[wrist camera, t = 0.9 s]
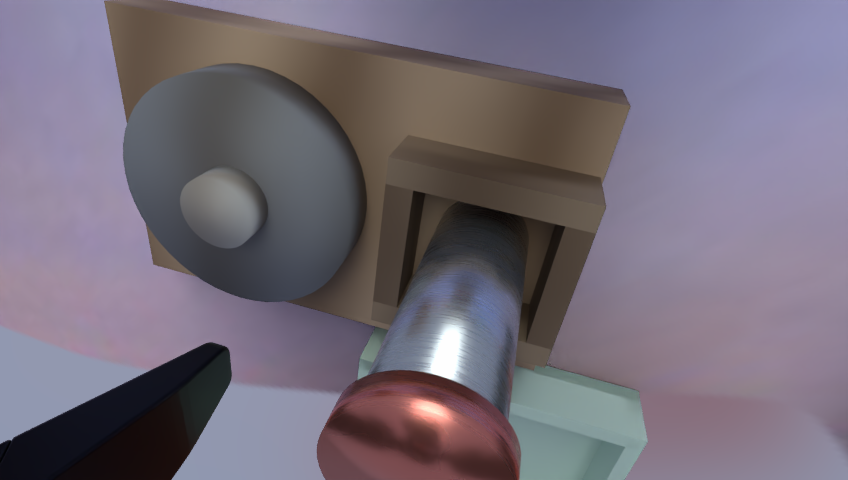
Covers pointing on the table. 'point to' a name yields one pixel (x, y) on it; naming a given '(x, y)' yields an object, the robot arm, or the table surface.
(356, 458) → the pin
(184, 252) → the block
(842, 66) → the table surface
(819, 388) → the table surface
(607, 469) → the tray
